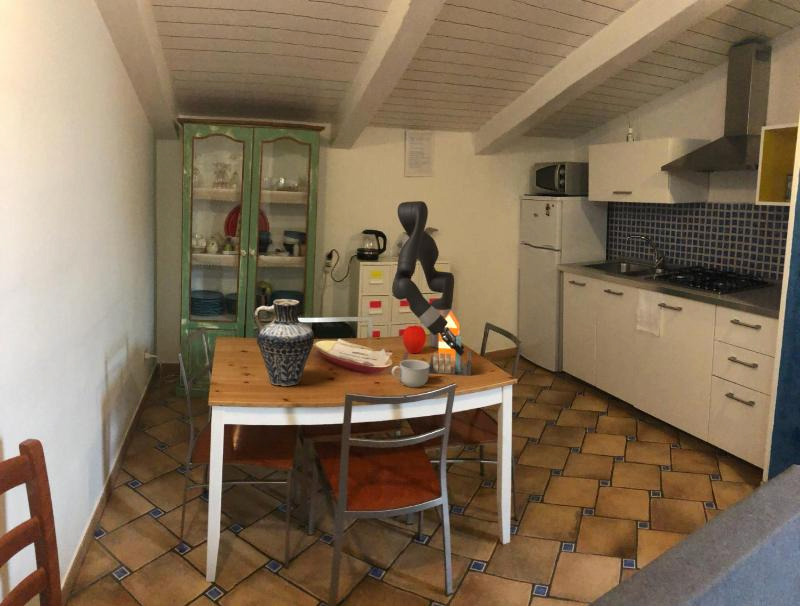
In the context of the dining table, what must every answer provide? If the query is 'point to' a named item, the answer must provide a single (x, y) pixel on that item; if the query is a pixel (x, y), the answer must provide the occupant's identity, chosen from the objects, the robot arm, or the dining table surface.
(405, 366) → the teacup
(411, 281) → the robot arm
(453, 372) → the rack
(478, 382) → the dining table surface
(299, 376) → the jug
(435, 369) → the offcut
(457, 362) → the teal board
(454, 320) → the orange juice
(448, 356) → the offcut
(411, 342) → the apple
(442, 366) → the offcut
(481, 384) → the dining table surface
